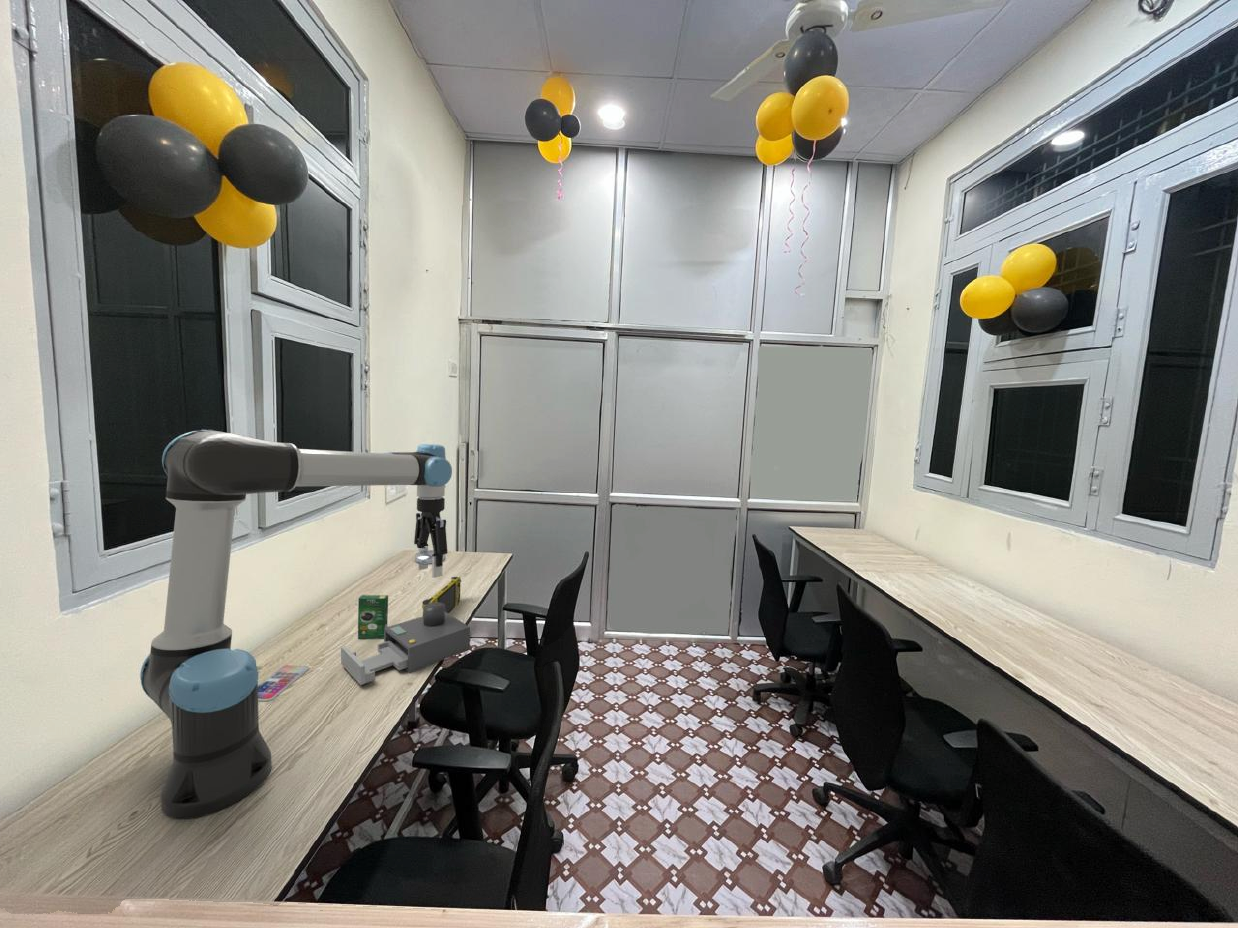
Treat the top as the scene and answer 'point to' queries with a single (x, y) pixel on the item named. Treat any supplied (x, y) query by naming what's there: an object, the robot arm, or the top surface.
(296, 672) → the smartphone
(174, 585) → the robot arm
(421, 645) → the player
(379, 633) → the coffee box
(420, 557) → the disc
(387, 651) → the sliding drawer insert
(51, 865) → the top surface
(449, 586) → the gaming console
